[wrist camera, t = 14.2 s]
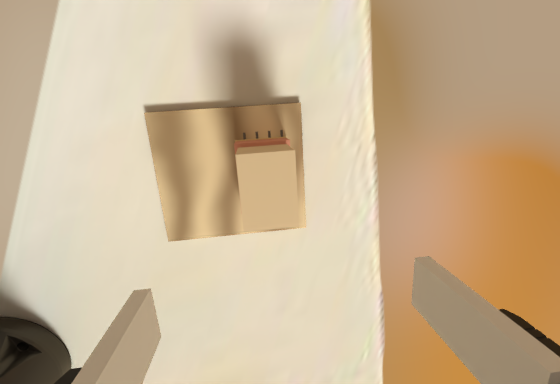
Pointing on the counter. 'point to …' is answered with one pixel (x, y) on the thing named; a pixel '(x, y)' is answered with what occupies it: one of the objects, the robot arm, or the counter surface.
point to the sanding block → (267, 183)
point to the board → (214, 164)
